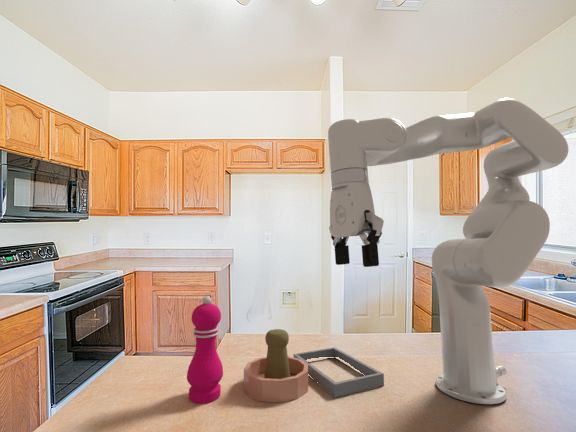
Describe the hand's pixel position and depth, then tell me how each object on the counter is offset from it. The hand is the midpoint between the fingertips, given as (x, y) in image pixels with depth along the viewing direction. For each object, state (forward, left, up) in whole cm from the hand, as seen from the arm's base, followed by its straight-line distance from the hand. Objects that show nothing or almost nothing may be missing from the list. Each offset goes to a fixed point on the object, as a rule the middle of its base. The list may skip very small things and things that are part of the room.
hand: (355, 265), depth 60 cm
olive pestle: (+11, -14, -26) cm, 32 cm away
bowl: (+11, -14, -26) cm, 32 cm away
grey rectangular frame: (-4, -14, -27) cm, 30 cm away
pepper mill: (+26, -16, -27) cm, 41 cm away
